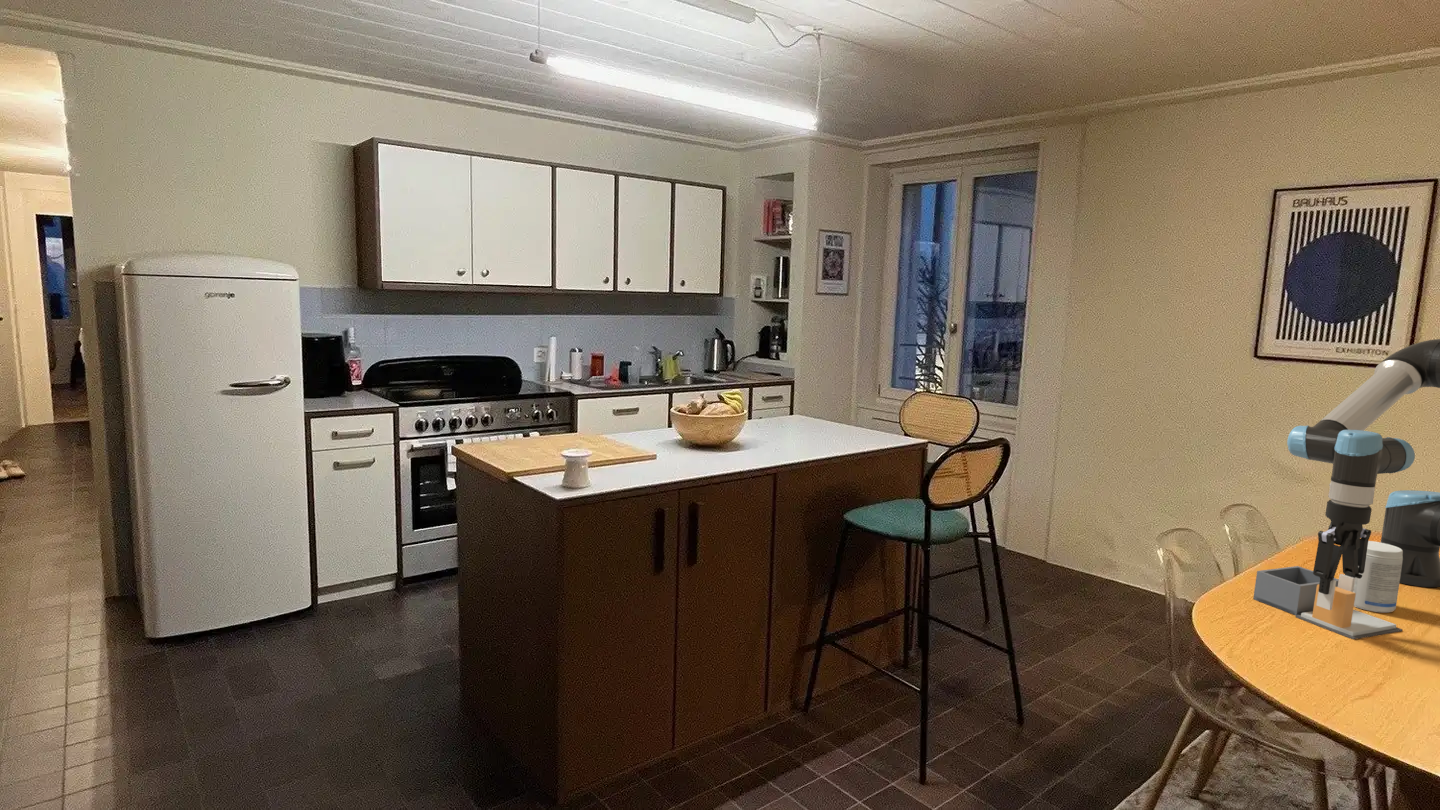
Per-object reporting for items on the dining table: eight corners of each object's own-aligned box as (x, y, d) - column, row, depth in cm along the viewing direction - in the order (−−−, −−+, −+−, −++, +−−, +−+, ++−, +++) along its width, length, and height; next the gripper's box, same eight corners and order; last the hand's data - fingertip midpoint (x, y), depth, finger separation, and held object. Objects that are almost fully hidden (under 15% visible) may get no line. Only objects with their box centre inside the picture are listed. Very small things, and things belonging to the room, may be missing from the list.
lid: (1343, 609, 182) (1348, 574, 181) (1395, 628, 172) (1401, 591, 171) (1300, 616, 177) (1306, 580, 176) (1352, 636, 167) (1358, 598, 166)
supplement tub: (1401, 609, 185) (1411, 548, 183) (1386, 617, 179) (1396, 555, 177) (1351, 595, 193) (1360, 537, 191) (1335, 602, 187) (1344, 542, 185)
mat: (1342, 609, 183) (1343, 608, 183) (1402, 631, 172) (1402, 629, 172) (1295, 617, 177) (1295, 615, 177) (1353, 639, 166) (1353, 637, 166)
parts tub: (1293, 593, 192) (1297, 565, 191) (1337, 609, 183) (1342, 580, 182) (1253, 599, 188) (1257, 570, 187) (1296, 615, 178) (1300, 586, 177)
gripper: (1358, 495, 175) (1343, 595, 179) (1301, 500, 169) (1286, 603, 172) (1397, 504, 168) (1380, 608, 172) (1339, 509, 162) (1323, 617, 165)
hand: (1333, 605), depth 172 cm, fingers open, 5 cm apart
